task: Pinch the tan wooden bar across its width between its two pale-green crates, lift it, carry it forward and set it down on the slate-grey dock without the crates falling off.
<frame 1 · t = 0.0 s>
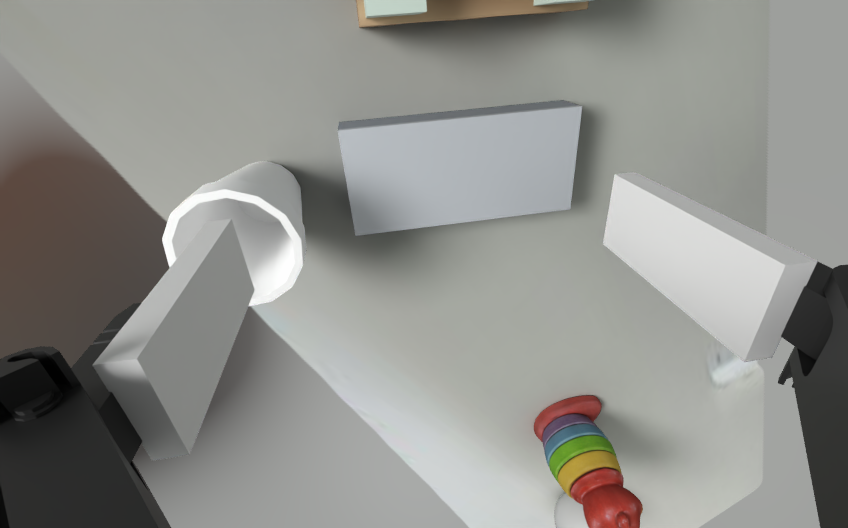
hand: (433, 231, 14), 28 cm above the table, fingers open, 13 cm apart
ornament: (571, 492, 76), on the table
stacking bear: (562, 418, 65), on the table
foam cup: (268, 192, 41), on the table
dock: (455, 162, 42), on the table
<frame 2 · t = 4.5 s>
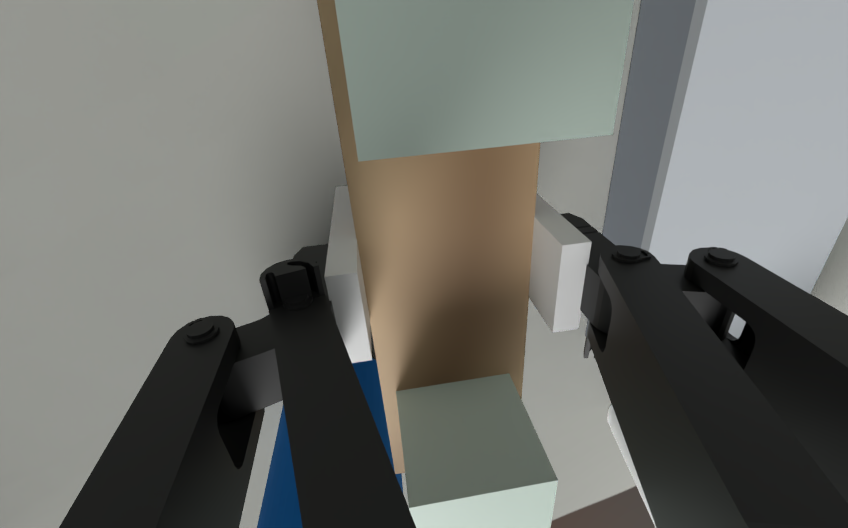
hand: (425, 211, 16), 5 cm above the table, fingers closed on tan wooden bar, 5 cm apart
crate a: (454, 421, 15), point 9 cm above the table, touching tan wooden bar
crate b: (437, 8, 9), point 9 cm above the table, touching tan wooden bar
tan wooden bar: (424, 208, 16), point 4 cm above the table, touching crate a, crate b, gripper
foam cup: (645, 404, 31), on the table
beverage can: (342, 379, 26), on the table
dock: (702, 161, 22), on the table
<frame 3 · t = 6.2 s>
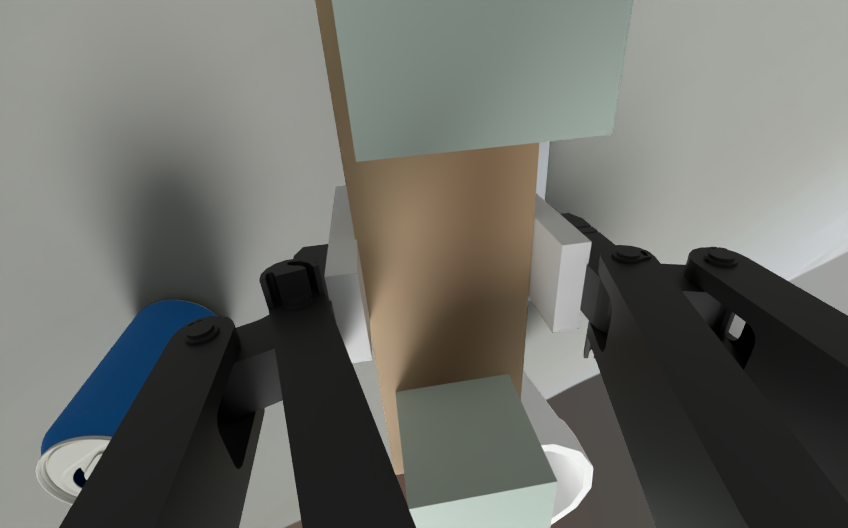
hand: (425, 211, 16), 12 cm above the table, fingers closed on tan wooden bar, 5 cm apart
crate a: (454, 421, 15), point 17 cm above the table, touching tan wooden bar
crate b: (436, 8, 9), point 17 cm above the table, touching tan wooden bar
tan wooden bar: (423, 208, 16), point 12 cm above the table, touching crate a, crate b, gripper
foam cup: (468, 353, 37), on the table
beverage can: (186, 328, 31), on the table
dock: (452, 141, 27), on the table
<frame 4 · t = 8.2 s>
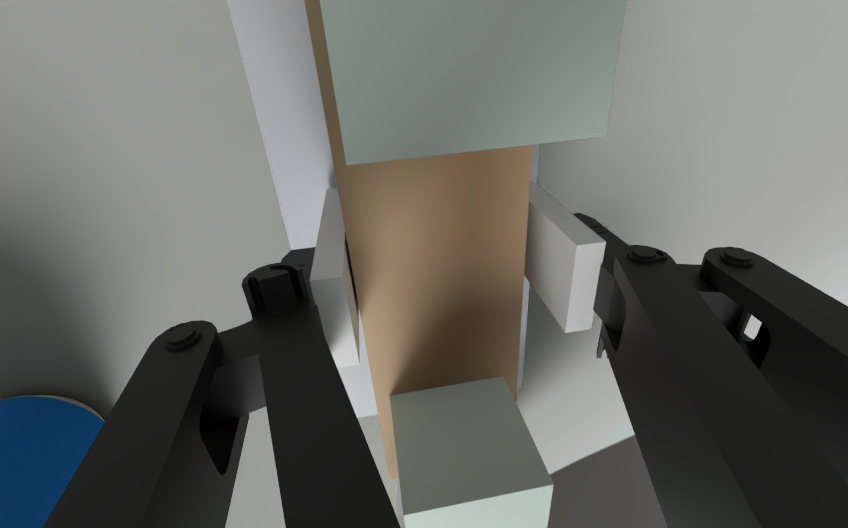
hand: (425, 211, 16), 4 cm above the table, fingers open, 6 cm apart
crate a: (449, 424, 15), point 9 cm above the table, touching tan wooden bar
crate b: (427, 8, 9), point 9 cm above the table, touching tan wooden bar
tan wooden bar: (416, 210, 16), point 4 cm above the table, touching crate a, crate b, dock, gripper
beverage can: (58, 423, 23), on the table
dock: (402, 179, 20), on the table
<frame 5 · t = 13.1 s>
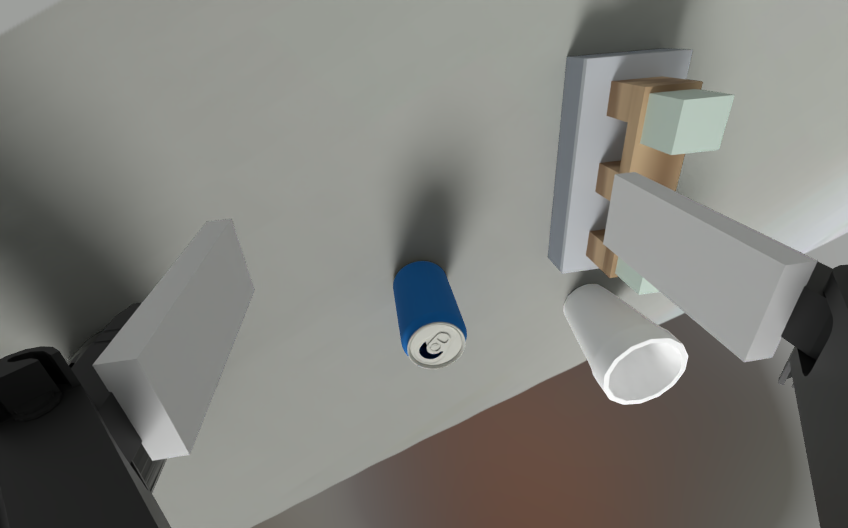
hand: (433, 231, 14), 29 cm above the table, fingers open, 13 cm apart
crate a: (637, 253, 41), point 9 cm above the table, touching tan wooden bar
crate b: (667, 116, 34), point 9 cm above the table, touching tan wooden bar
tan wooden bar: (620, 174, 42), point 4 cm above the table, touching crate a, crate b, dock
foam cup: (585, 302, 55), on the table
beverage can: (419, 280, 49), on the table
dock: (599, 164, 45), on the table
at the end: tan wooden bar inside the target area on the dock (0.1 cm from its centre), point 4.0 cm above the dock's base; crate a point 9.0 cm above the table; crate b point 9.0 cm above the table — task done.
